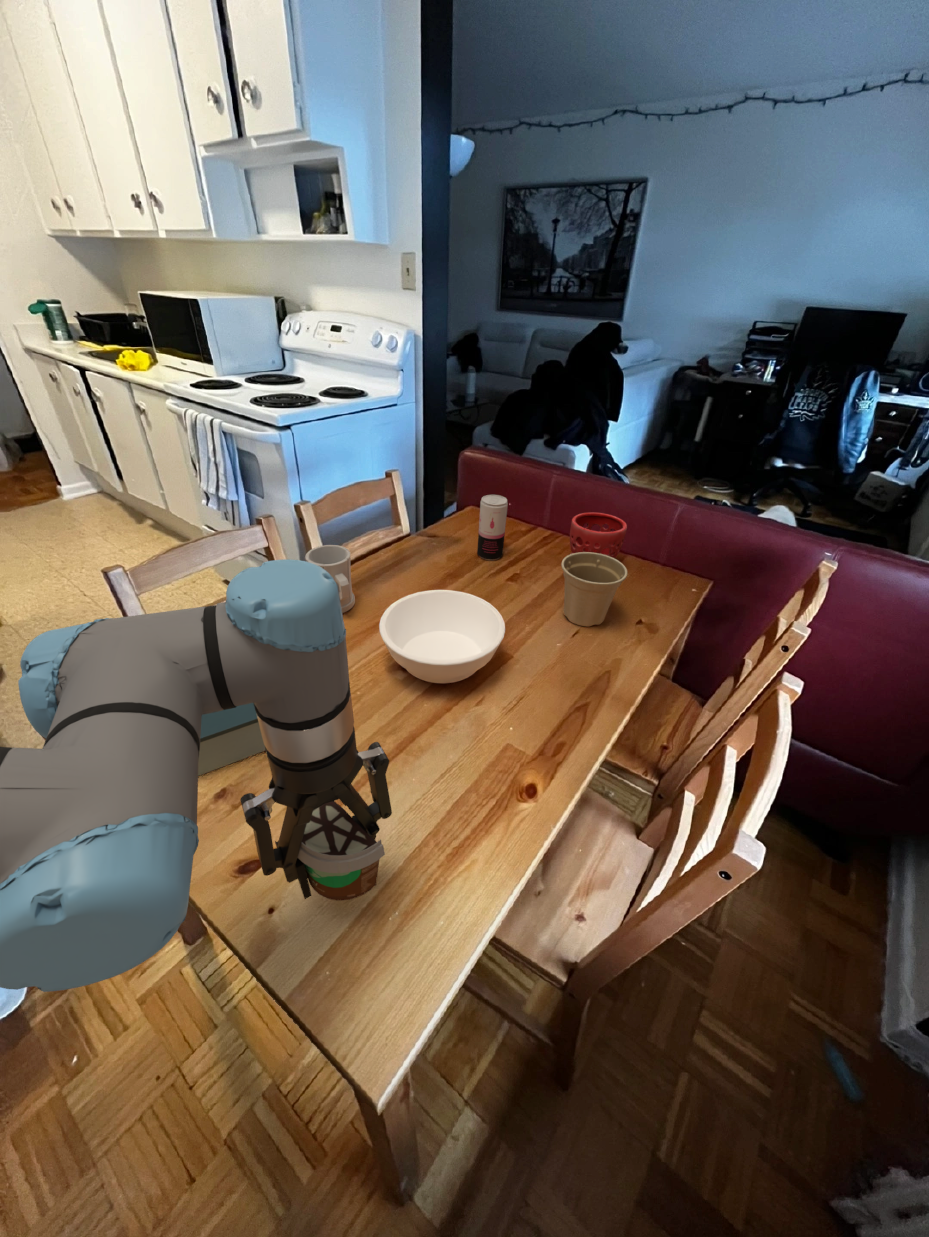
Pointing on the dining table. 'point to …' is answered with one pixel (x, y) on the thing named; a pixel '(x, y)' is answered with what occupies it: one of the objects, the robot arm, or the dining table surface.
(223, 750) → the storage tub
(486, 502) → the beverage can
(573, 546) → the flower pot
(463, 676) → the bowl
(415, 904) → the dining table surface
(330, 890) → the food container
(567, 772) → the dining table surface
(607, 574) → the flower pot
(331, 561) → the cup
